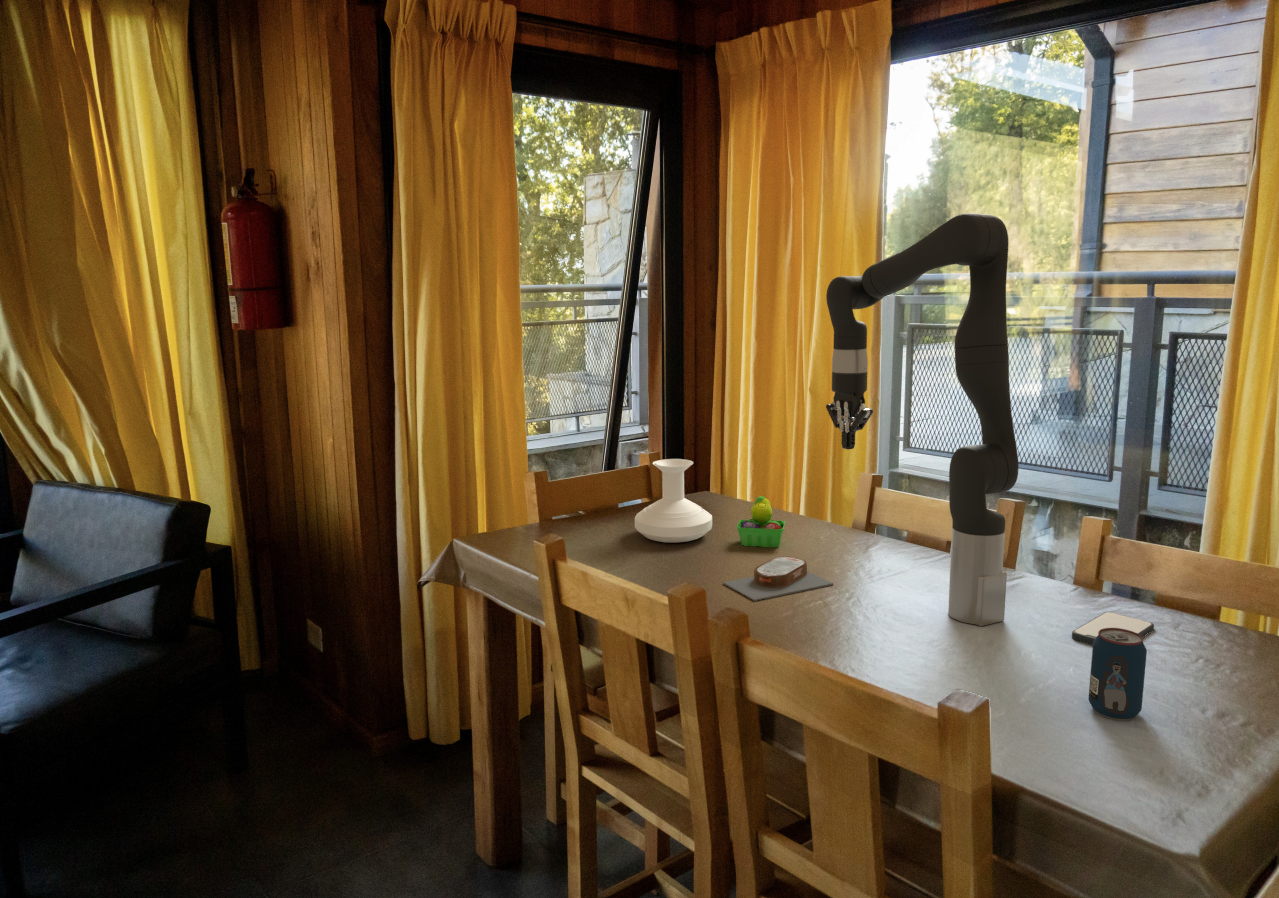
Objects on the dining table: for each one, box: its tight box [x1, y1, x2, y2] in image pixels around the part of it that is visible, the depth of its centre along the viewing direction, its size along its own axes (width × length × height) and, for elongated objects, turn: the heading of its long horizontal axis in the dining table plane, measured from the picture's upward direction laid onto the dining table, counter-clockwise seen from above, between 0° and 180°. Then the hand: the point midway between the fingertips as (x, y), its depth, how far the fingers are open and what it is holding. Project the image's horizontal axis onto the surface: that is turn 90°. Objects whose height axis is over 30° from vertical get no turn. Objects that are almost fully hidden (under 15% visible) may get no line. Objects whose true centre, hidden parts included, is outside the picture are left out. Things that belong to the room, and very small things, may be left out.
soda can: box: [1088, 628, 1148, 722], centre depth 128 cm, size 7×7×12 cm
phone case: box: [1071, 611, 1155, 645], centre depth 158 cm, size 9×2×16 cm
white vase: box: [634, 458, 713, 543], centre depth 222 cm, size 20×20×19 cm
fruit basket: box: [736, 496, 786, 548], centre depth 215 cm, size 11×9×11 cm
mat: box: [722, 570, 834, 602], centre depth 186 cm, size 12×20×1 cm, turn 116°
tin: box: [753, 555, 808, 588], centre depth 190 cm, size 15×3×8 cm
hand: (848, 448), depth 192 cm, fingers closed
